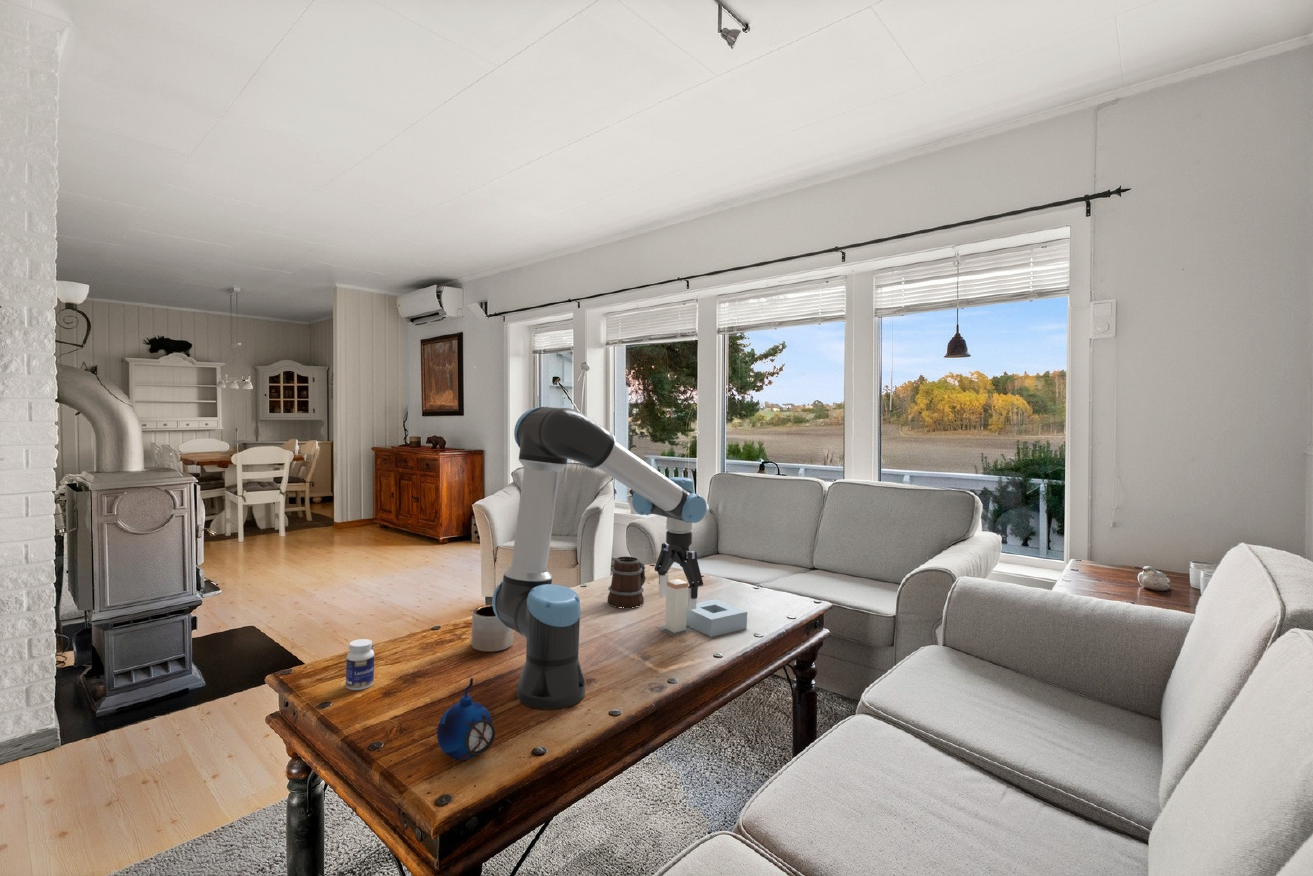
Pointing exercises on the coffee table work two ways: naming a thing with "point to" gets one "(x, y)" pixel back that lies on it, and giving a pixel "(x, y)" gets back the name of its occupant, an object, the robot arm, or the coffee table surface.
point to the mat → (676, 632)
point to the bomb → (465, 729)
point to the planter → (489, 631)
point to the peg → (676, 605)
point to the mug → (627, 583)
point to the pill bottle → (360, 665)
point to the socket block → (716, 618)
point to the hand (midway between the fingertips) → (677, 602)
